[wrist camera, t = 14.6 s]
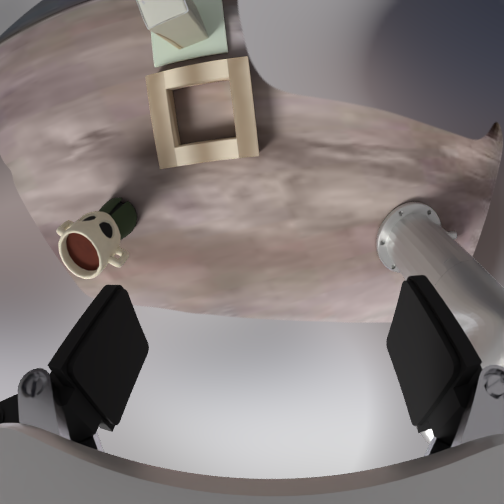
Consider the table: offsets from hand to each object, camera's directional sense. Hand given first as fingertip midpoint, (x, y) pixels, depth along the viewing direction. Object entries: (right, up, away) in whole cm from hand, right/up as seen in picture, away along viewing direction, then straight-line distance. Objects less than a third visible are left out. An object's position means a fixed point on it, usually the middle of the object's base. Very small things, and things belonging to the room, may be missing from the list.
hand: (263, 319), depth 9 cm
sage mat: (-9, +32, +18) cm, 38 cm away
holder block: (-7, +21, +25) cm, 33 cm away
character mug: (-21, +8, +32) cm, 39 cm away
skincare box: (-9, +32, +18) cm, 37 cm away
